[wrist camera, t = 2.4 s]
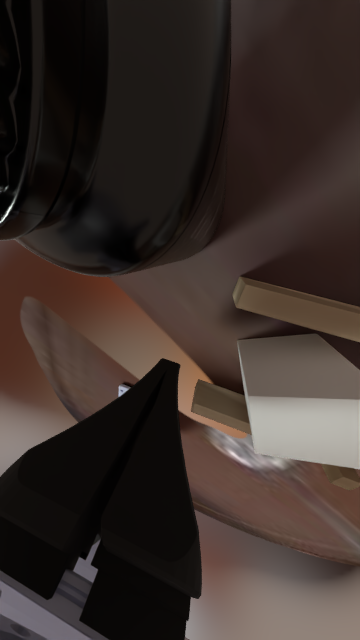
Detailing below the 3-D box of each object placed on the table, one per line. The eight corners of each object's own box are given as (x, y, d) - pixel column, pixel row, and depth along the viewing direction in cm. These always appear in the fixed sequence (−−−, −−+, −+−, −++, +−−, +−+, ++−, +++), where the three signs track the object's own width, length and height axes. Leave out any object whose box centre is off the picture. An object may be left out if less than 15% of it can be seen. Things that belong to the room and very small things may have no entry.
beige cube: (310, 386, 14) (366, 470, 8) (243, 385, 16) (254, 453, 10) (316, 332, 12) (397, 401, 6) (236, 339, 13) (247, 396, 8)
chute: (317, 431, 16) (349, 490, 12) (195, 387, 17) (188, 426, 14) (454, 331, 9) (619, 387, 5) (239, 276, 11) (250, 290, 7)
